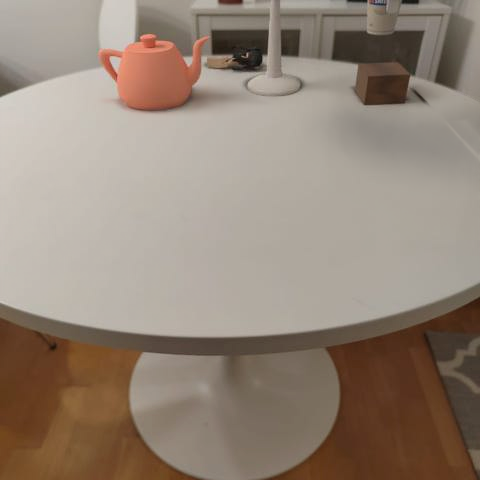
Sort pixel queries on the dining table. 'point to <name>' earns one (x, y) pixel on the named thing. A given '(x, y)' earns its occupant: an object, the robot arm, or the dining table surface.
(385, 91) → the walnut block
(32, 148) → the dining table surface
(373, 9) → the coffee cup
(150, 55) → the teapot
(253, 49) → the toy figure
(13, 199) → the dining table surface
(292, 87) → the candlestick
